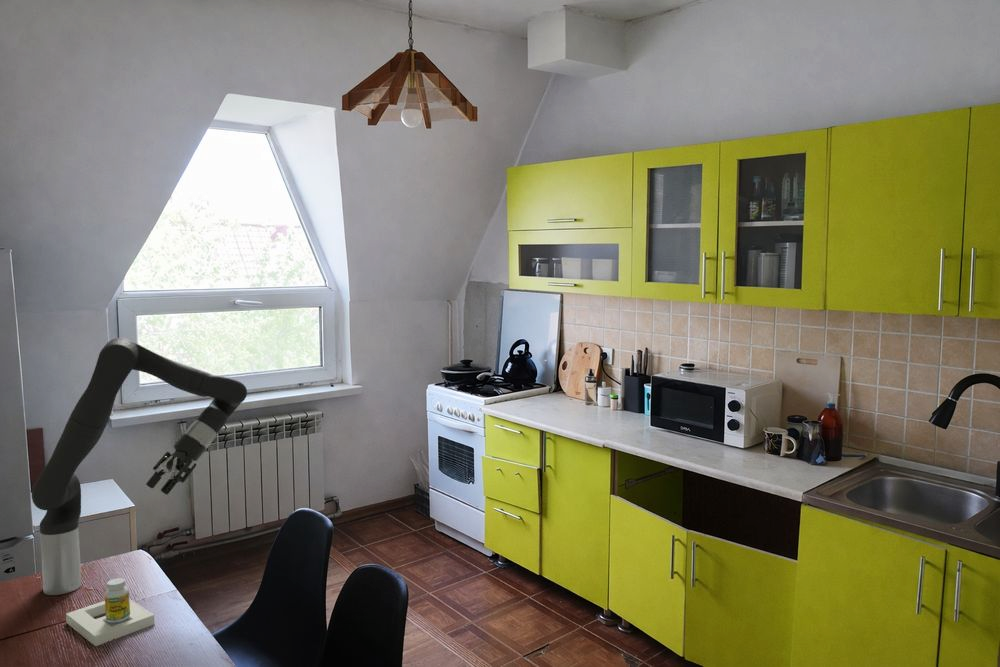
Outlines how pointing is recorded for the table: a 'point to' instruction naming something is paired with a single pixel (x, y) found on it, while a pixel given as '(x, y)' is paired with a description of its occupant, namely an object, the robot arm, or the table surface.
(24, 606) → the table surface
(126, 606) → the supplement bottle
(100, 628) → the socket dock
